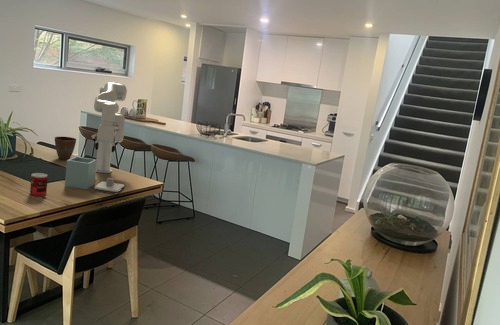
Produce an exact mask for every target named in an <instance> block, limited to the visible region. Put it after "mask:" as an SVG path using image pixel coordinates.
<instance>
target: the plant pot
mask: <svg viewBox="0 0 500 325" xmlns="http://www.w3.org/2000/svg"><path fill="white" fill-rule="evenodd" d="M54 144H55V145H54V146H55V150H56V154H57V158H58V160H61V161H67V160H69V159H71V158H72V155H73V153H74V150H75V147H76V144H77V138H74V137H70V136H54Z"/></svg>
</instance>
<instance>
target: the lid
mask: <svg viewBox="0 0 500 325" xmlns="http://www.w3.org/2000/svg"><path fill="white" fill-rule="evenodd" d="M123 187H124V188H125V184H123V183H116V182H115V178H113V177H107V178H106V181H104V180H103V181H101V182H99V183H97V184H96V185H94V190H95V189H98V190H104V191H111V192H118V191H119V190H120V189H122V188H123Z"/></svg>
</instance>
